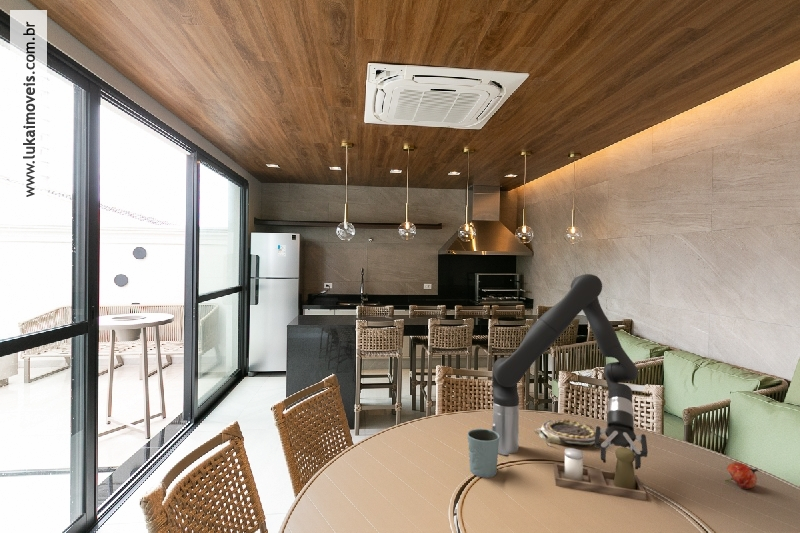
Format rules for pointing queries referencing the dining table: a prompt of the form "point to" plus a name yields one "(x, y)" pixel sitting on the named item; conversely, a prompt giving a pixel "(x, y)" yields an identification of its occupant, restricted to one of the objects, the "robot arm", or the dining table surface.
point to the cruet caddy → (597, 482)
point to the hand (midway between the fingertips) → (620, 464)
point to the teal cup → (483, 452)
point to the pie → (567, 433)
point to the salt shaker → (573, 464)
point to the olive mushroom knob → (625, 469)
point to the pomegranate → (742, 475)
